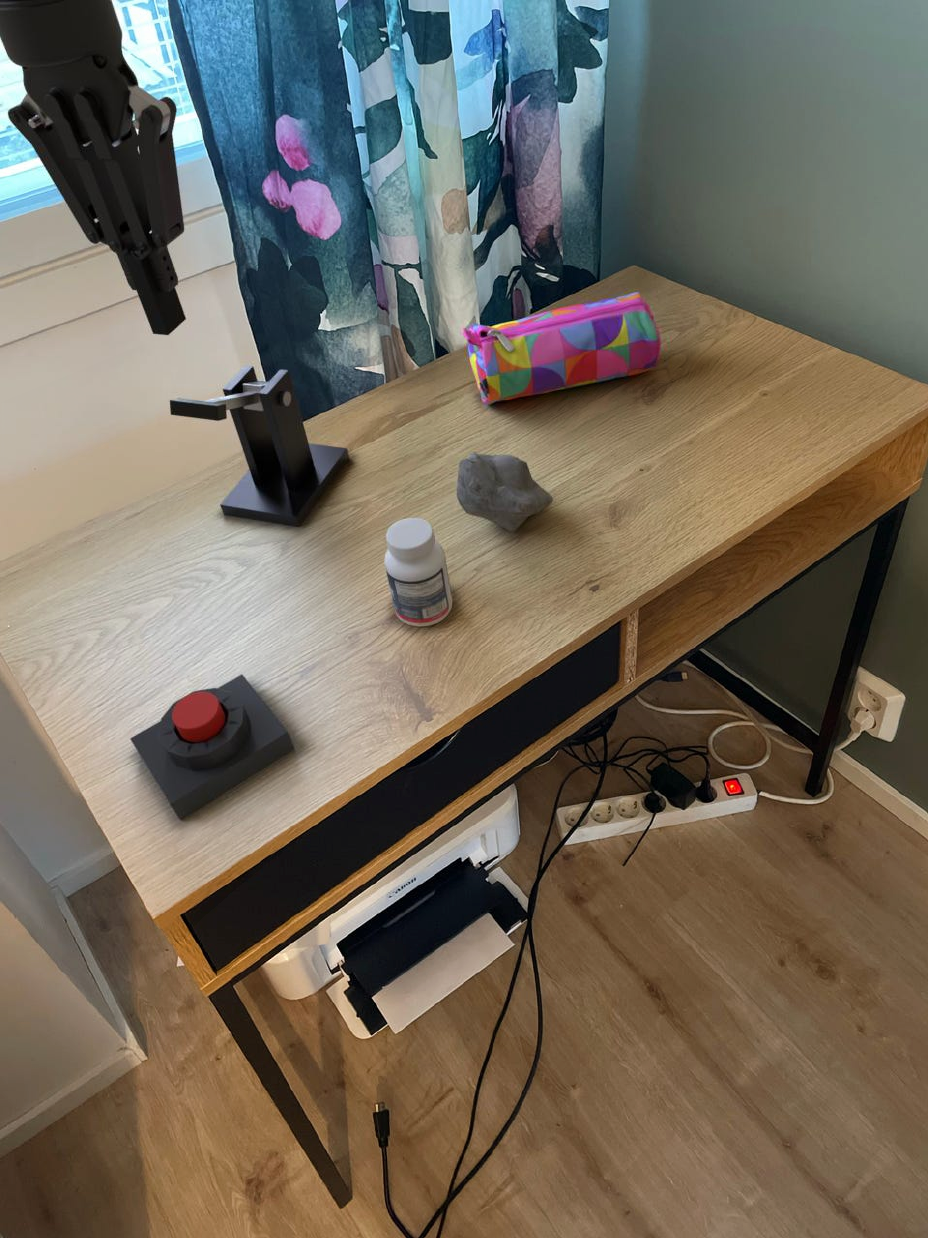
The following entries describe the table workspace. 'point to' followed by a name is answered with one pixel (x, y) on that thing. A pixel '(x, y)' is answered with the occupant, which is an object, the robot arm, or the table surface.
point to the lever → (219, 403)
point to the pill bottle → (417, 573)
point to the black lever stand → (278, 456)
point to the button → (198, 717)
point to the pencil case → (564, 348)
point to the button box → (213, 749)
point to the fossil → (499, 489)
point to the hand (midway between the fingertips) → (169, 325)
